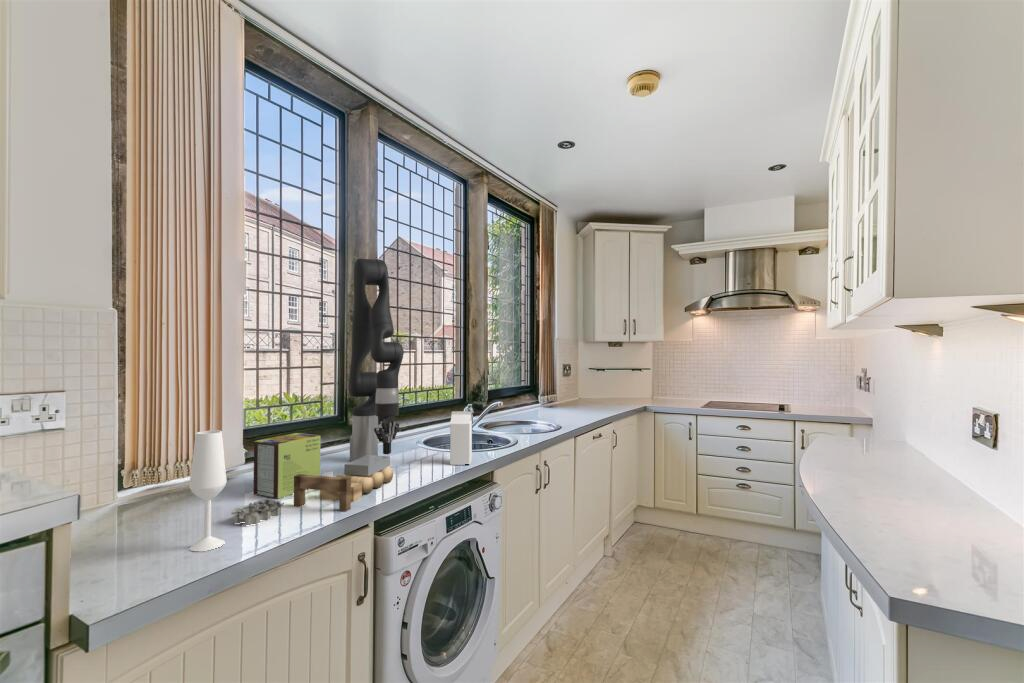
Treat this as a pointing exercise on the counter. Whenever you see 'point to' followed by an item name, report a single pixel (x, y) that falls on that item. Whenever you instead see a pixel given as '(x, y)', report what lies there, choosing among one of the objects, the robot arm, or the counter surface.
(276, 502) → the egg carton
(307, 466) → the protein box
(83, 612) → the counter surface
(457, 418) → the milk carton
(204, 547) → the champagne flute
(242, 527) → the counter surface
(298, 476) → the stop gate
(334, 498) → the oak skid
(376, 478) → the roller bed
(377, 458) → the slab
